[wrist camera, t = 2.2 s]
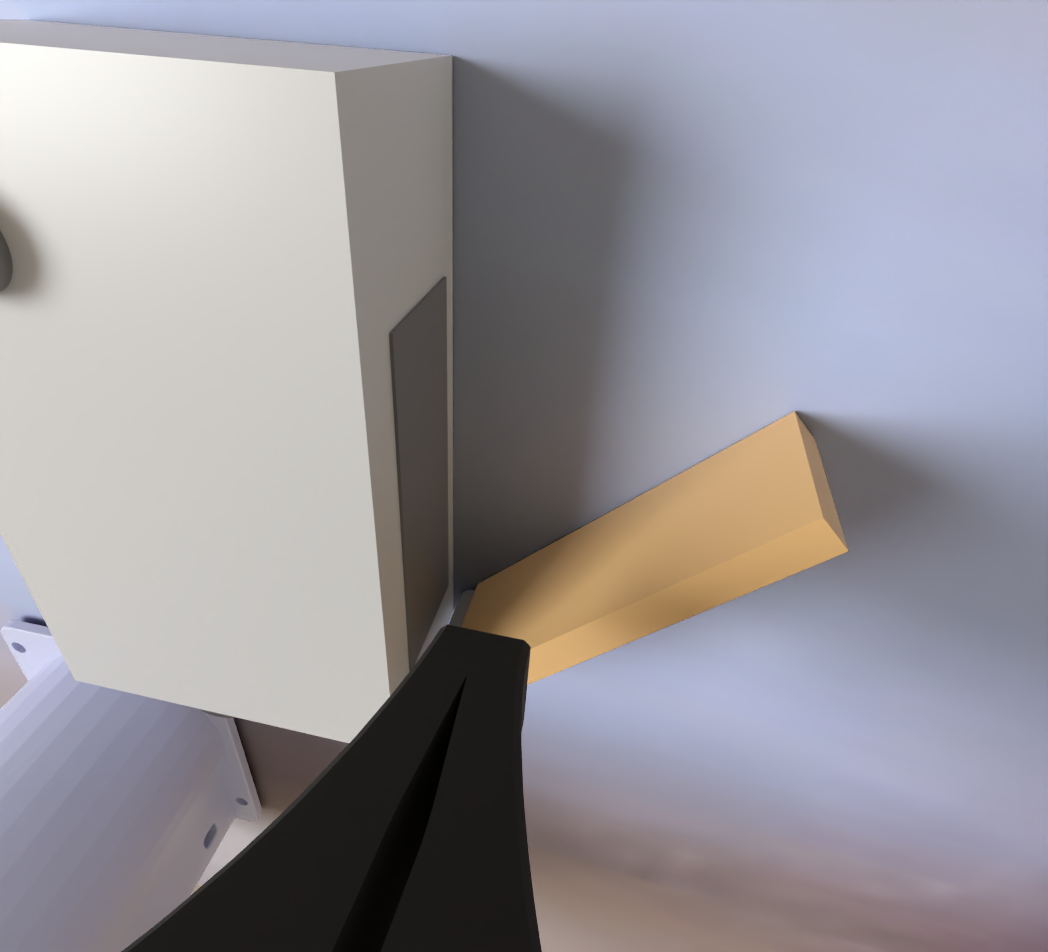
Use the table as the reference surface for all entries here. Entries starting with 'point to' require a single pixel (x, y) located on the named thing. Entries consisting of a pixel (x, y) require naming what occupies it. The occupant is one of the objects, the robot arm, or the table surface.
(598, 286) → the table surface
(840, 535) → the side door
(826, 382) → the table surface
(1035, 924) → the table surface
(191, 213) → the white knobbed box
